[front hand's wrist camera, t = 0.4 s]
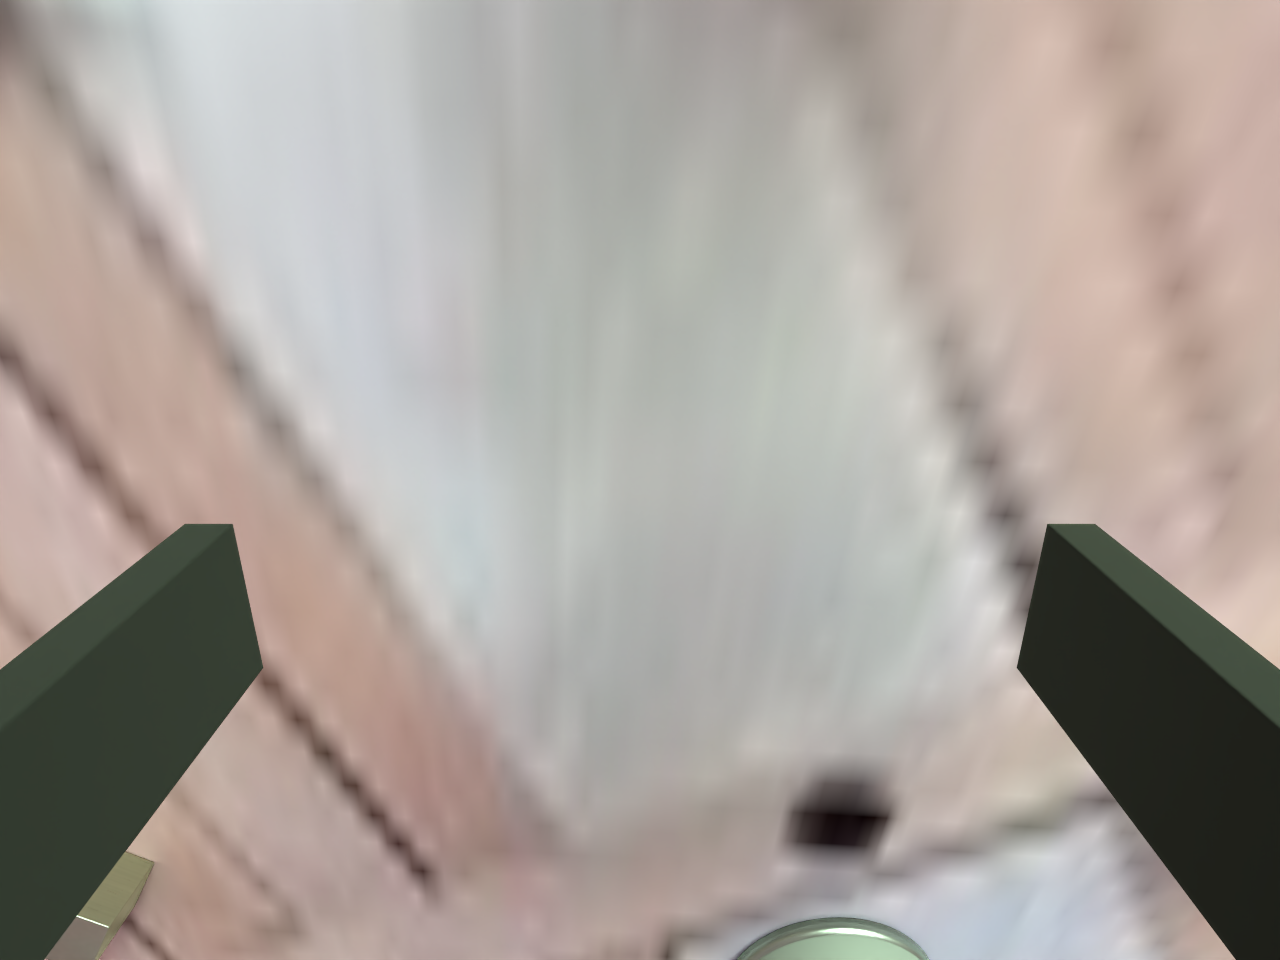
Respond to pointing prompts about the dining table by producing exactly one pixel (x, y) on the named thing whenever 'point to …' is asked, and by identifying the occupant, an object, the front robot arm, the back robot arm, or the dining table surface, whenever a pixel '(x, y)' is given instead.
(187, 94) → the dining table surface
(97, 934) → the block
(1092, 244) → the dining table surface
